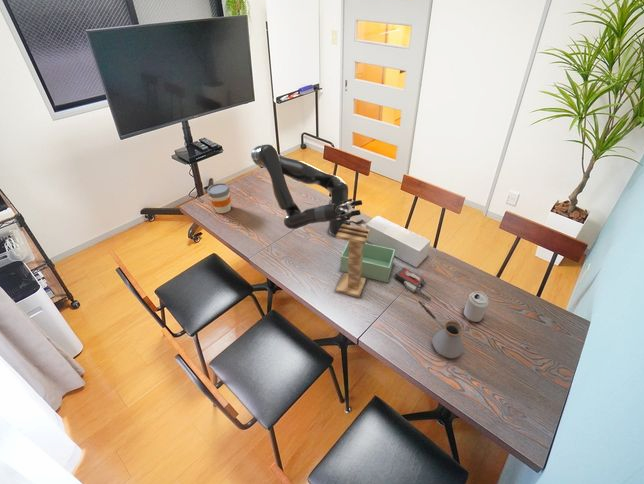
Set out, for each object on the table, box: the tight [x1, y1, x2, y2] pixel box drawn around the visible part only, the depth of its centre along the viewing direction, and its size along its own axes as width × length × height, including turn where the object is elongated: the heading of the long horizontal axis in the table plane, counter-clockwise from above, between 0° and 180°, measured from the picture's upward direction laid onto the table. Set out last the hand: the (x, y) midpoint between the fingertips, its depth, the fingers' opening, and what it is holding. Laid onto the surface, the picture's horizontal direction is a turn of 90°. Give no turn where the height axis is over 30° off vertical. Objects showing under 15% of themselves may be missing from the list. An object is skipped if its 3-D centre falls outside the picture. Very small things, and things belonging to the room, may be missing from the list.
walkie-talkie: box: [394, 267, 432, 301], centre depth 151 cm, size 9×4×20 cm
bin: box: [340, 240, 395, 283], centre depth 159 cm, size 23×13×10 cm, turn 71°
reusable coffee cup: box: [206, 182, 232, 214], centre depth 198 cm, size 13×13×15 cm
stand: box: [335, 224, 370, 298], centre depth 142 cm, size 12×11×33 cm
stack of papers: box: [365, 215, 431, 268], centre depth 170 cm, size 32×11×11 cm, turn 49°
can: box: [463, 290, 490, 323], centre depth 135 cm, size 8×8×12 cm
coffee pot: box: [416, 300, 464, 359], centre depth 125 cm, size 21×12×15 cm, turn 45°
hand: (361, 207), depth 144 cm, fingers open, 8 cm apart
